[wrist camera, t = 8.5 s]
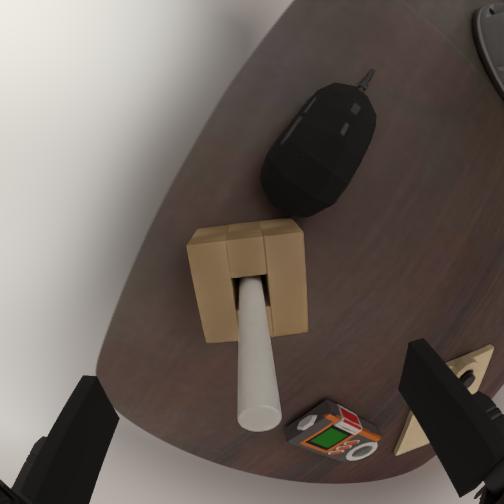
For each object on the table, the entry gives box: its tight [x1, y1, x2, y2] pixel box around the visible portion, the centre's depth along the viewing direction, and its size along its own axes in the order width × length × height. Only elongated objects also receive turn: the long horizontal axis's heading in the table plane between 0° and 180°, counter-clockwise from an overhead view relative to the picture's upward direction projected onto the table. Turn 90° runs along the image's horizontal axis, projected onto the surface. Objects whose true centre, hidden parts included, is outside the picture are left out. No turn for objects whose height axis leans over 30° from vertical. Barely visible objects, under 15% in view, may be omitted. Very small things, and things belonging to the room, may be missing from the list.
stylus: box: [237, 275, 282, 432], centre depth 17 cm, size 2×2×16 cm
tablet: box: [394, 344, 494, 455], centre depth 31 cm, size 13×20×2 cm, turn 7°
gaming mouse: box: [261, 69, 376, 217], centre depth 20 cm, size 6×15×4 cm, turn 147°
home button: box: [459, 370, 475, 388], centre depth 27 cm, size 2×2×1 cm
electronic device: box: [284, 399, 381, 462], centre depth 30 cm, size 7×3×15 cm
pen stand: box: [186, 218, 308, 343], centre depth 22 cm, size 8×8×5 cm
